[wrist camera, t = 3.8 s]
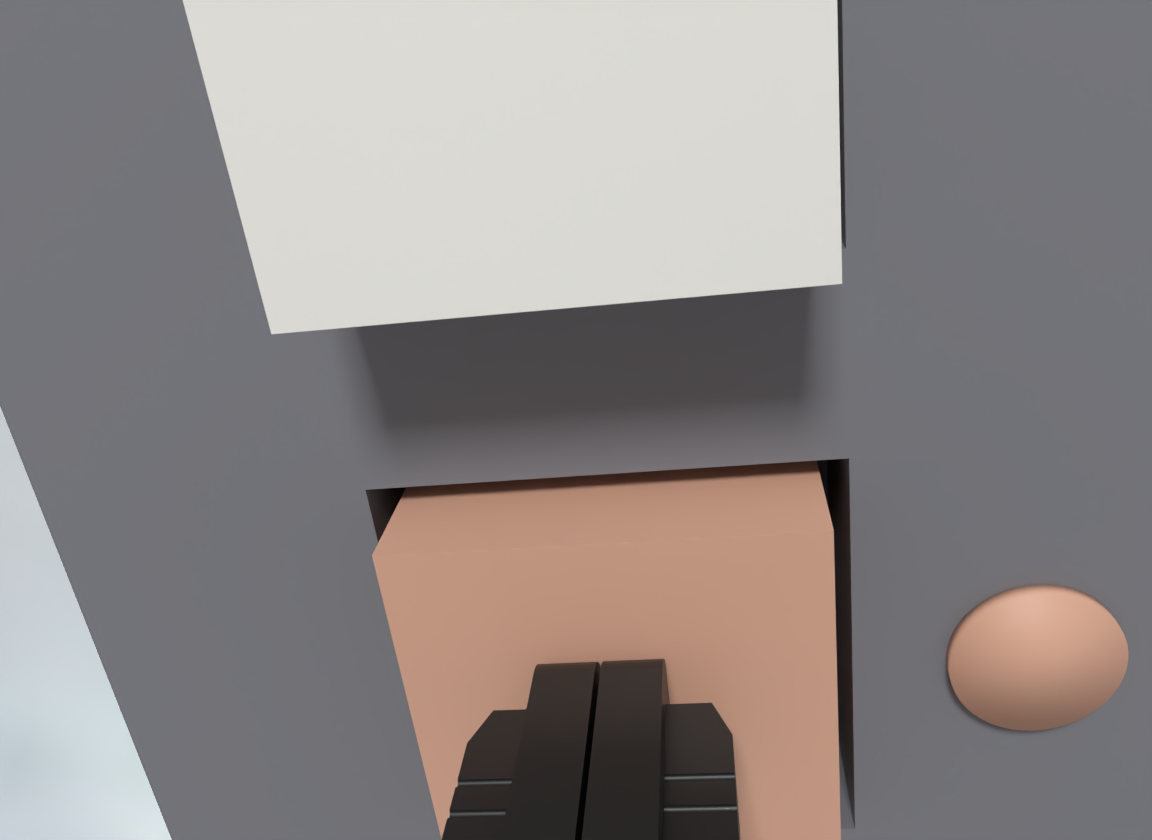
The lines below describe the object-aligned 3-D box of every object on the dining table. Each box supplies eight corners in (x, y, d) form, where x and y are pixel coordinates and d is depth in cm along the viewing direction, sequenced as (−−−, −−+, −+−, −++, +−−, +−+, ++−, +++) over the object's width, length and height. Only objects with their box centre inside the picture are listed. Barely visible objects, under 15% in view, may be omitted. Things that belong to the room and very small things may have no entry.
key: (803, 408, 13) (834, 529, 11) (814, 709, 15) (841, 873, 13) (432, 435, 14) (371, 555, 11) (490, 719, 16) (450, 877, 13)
